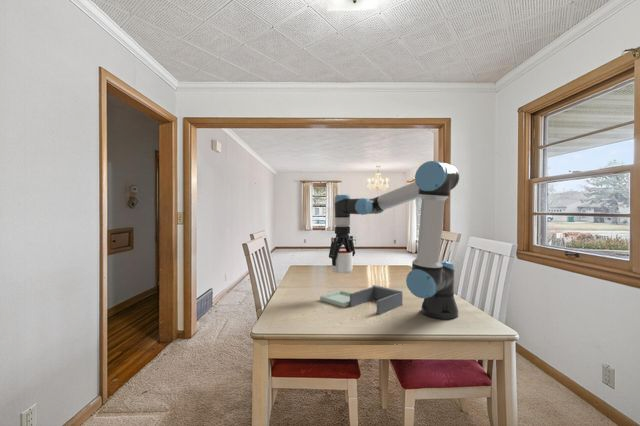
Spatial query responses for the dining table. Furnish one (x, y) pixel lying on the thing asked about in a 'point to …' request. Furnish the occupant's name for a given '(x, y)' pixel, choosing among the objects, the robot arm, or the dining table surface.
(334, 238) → the robot arm
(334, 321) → the dining table surface
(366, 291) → the bay
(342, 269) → the cup
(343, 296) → the tray
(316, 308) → the dining table surface
